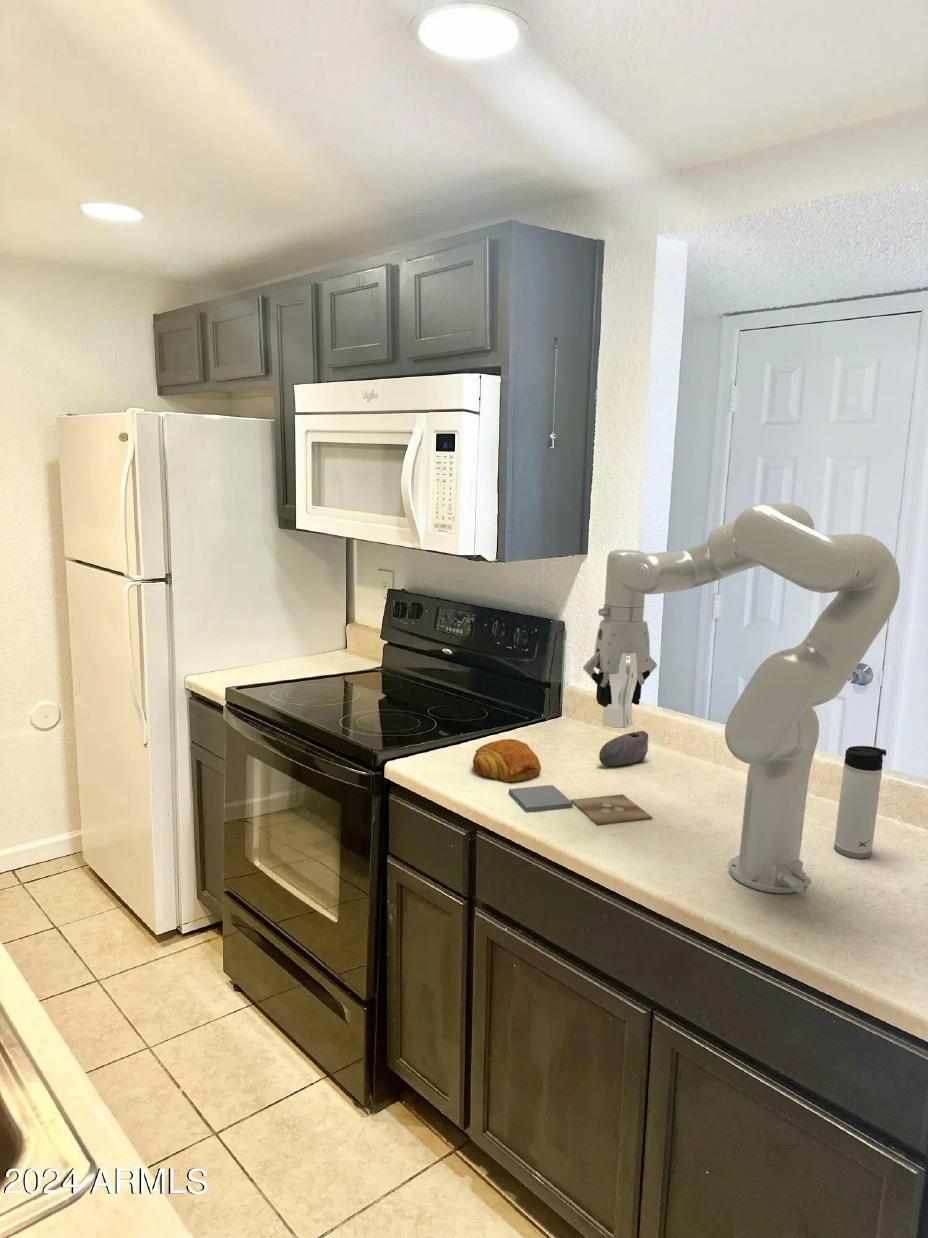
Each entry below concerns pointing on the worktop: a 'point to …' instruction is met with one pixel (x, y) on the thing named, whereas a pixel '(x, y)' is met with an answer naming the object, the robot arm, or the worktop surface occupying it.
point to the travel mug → (858, 801)
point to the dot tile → (610, 809)
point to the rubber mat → (540, 798)
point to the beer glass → (621, 693)
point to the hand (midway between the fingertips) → (618, 703)
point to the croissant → (506, 761)
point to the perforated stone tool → (625, 749)
